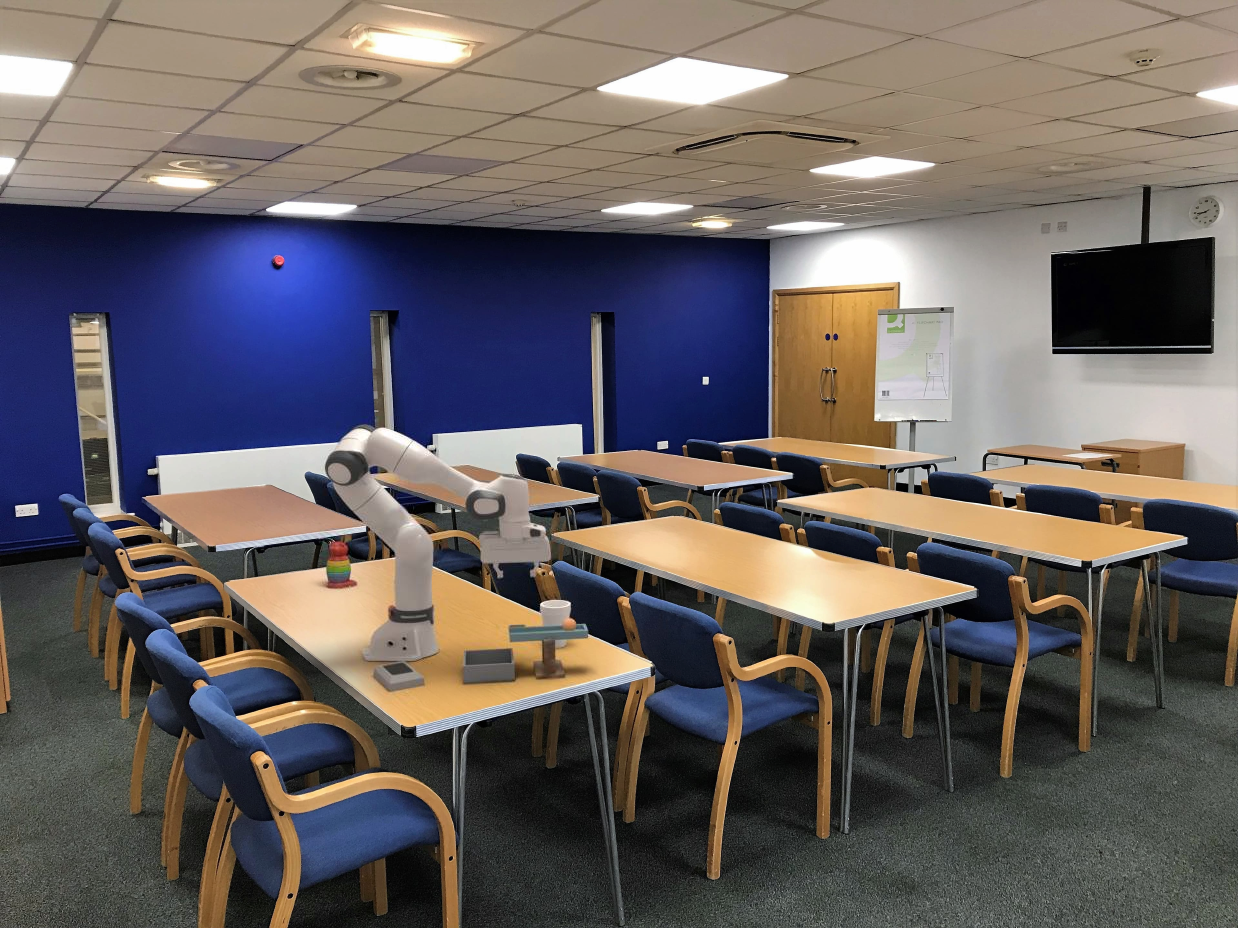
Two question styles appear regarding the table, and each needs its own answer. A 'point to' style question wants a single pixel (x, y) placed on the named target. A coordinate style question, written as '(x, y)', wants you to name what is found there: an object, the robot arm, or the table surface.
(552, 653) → the pivot stand
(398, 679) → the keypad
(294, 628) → the table surface
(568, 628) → the ball
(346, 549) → the stacking bear
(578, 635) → the chute lever
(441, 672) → the table surface
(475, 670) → the tray
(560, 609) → the foam cup
